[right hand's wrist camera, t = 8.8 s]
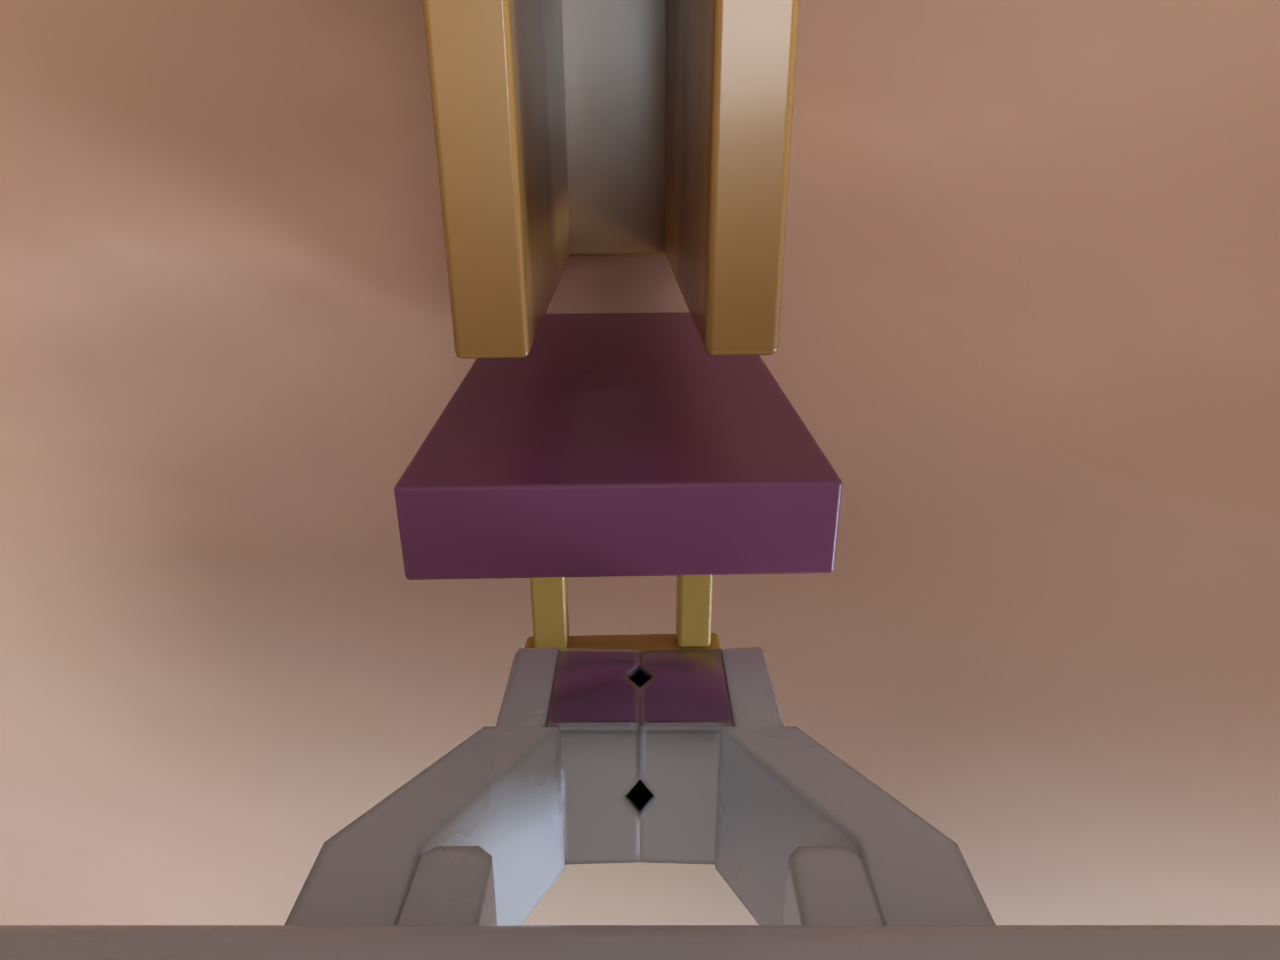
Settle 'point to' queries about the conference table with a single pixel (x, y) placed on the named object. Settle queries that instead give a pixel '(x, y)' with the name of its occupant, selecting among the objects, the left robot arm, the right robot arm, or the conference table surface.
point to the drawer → (615, 342)
